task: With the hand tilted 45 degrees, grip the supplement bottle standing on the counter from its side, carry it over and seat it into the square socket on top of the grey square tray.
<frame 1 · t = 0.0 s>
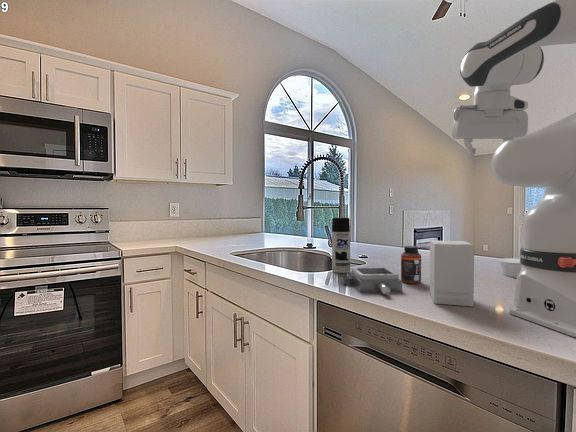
hand: (487, 154, 93), 39 cm above the table, tool pointing down, fingers open, 8 cm apart
supplement box: (450, 301, 82), on the table
ramekin: (518, 276, 110), on the table
grey square tray: (373, 285, 97), on the table
spray can: (341, 272, 118), on the table
supplement bottle: (410, 282, 102), on the table
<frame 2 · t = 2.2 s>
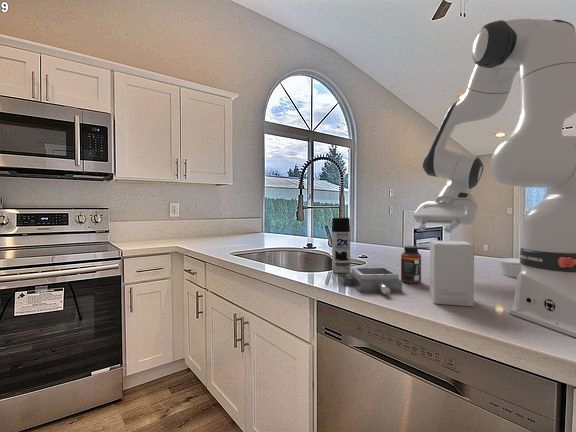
hand: (433, 230, 108), 16 cm above the table, tool tilted 45°, fingers open, 8 cm apart
nothing on the table moved.
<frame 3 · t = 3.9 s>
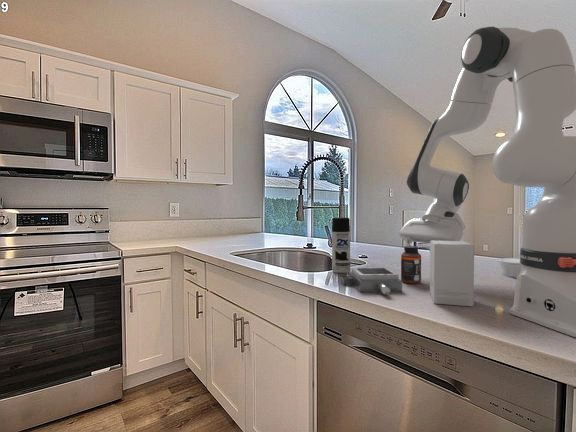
hand: (418, 250, 104), 10 cm above the table, tool tilted 45°, fingers open, 8 cm apart
nothing on the table moved.
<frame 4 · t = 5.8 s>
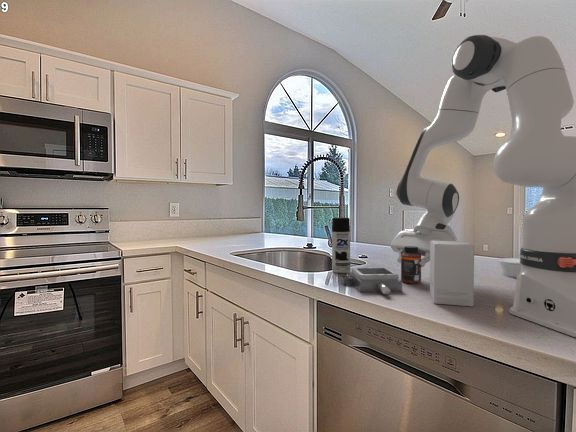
hand: (409, 263, 101), 6 cm above the table, tool tilted 45°, fingers closed on supplement bottle, 6 cm apart
supplement bottle: (411, 282, 102), on the table, touching gripper
everything else where it was.
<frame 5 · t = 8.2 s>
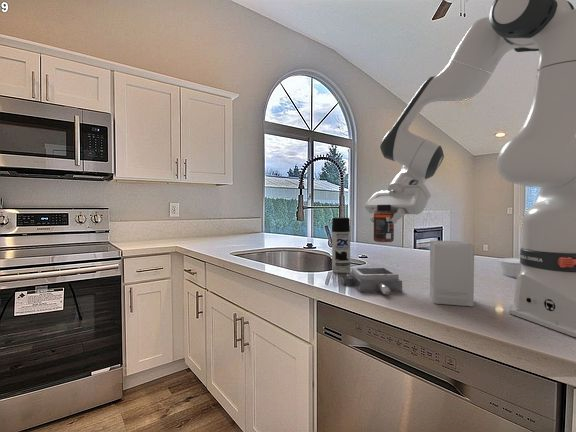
hand: (382, 221, 98), 19 cm above the table, tool tilted 45°, fingers closed on supplement bottle, 6 cm apart
supplement bottle: (383, 242, 99), point 13 cm above the table, touching gripper
everything else where it was.
when the fingers open (10 cm above the table, at t = 10.7 s): supplement bottle drops 1 cm, resting on grey square tray.
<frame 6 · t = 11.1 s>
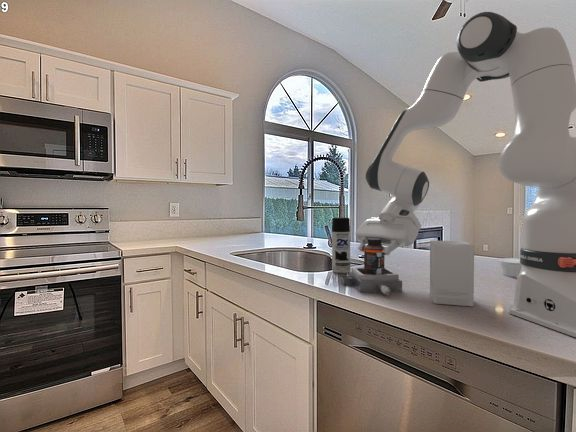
hand: (372, 252, 97), 10 cm above the table, tool tilted 45°, fingers open, 8 cm apart
supplement bottle: (374, 276, 97), point 3 cm above the table, touching grey square tray
everything else where it was.
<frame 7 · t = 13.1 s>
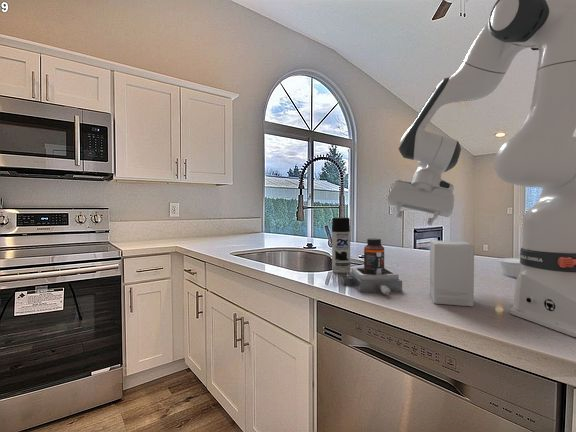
hand: (414, 220, 103), 19 cm above the table, tool tilted 35°, fingers open, 8 cm apart
nothing on the table moved.
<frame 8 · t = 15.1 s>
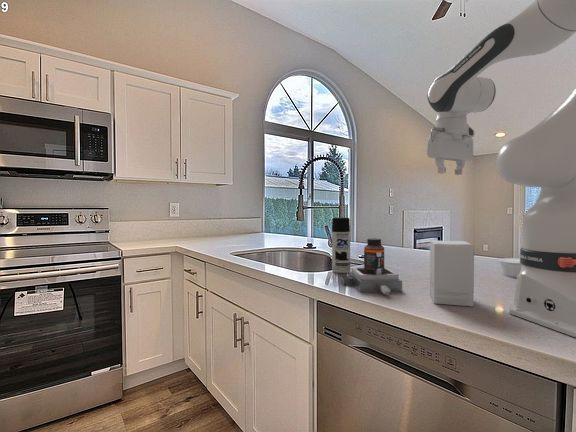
hand: (450, 174, 102), 34 cm above the table, tool pointing down, fingers open, 8 cm apart
nothing on the table moved.
at the end: supplement bottle inside the target area on the grey square tray (0.1 cm from its centre), point 2.8 cm above the grey square tray's base; supplement bottle tilted 0°; the gripper is holding nothing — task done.
